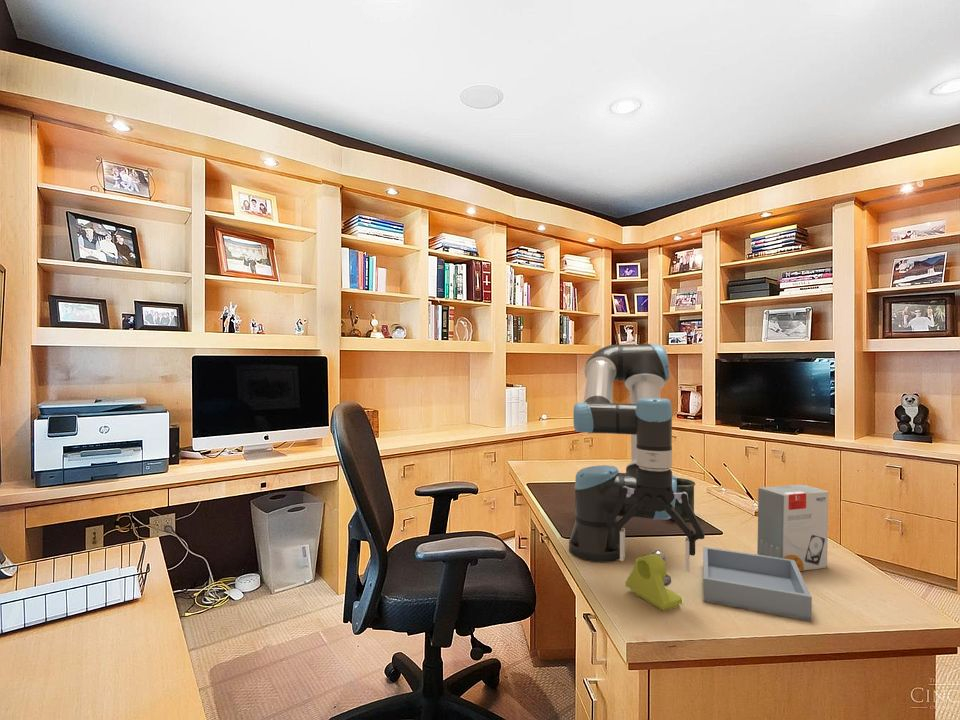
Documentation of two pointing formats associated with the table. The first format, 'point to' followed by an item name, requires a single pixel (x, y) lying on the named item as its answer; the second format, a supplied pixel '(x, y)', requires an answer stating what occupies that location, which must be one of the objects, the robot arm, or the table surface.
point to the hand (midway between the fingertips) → (654, 564)
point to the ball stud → (667, 579)
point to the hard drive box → (794, 524)
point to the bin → (755, 583)
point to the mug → (689, 488)
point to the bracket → (652, 582)
